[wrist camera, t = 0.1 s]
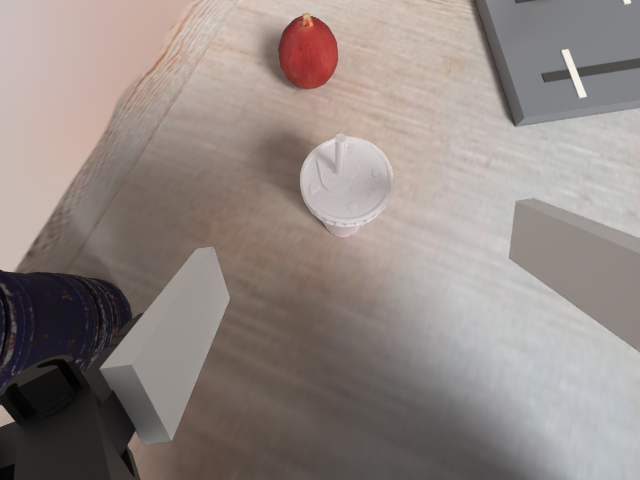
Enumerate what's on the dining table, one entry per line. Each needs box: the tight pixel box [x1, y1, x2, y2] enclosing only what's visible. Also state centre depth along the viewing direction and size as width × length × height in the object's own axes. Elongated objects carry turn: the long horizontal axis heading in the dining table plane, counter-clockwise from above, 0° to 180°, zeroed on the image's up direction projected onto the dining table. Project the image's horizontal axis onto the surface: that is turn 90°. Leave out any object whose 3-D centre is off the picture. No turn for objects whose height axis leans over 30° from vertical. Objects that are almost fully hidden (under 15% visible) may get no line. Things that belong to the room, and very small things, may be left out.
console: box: [475, 0, 640, 127], centre depth 32 cm, size 18×28×2 cm, turn 98°
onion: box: [278, 13, 338, 89], centre depth 29 cm, size 6×6×8 cm
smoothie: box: [300, 134, 393, 237], centre depth 23 cm, size 6×6×14 cm
